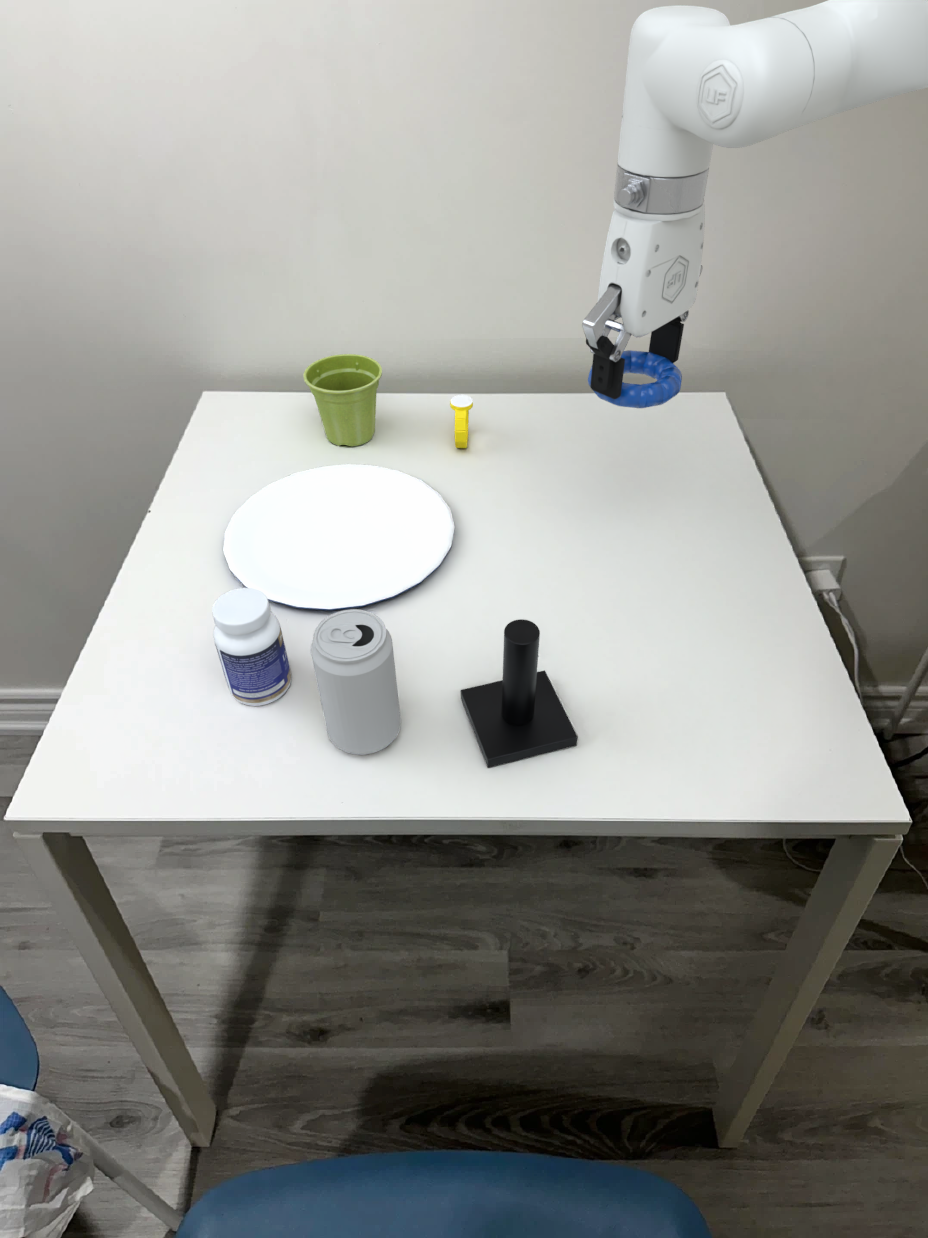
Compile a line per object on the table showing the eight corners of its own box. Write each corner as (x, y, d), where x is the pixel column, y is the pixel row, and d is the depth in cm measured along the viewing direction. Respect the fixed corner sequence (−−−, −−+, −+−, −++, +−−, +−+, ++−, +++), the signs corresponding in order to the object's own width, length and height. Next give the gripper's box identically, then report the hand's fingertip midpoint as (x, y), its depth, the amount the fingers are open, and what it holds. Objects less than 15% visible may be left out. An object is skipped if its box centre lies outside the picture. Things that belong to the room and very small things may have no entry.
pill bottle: (304, 685, 78) (288, 606, 71) (251, 718, 75) (228, 640, 68) (269, 652, 81) (250, 573, 74) (217, 683, 78) (191, 604, 71)
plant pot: (299, 432, 108) (288, 369, 102) (360, 407, 112) (354, 345, 106) (339, 464, 103) (330, 400, 97) (402, 437, 107) (397, 374, 101)
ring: (655, 361, 88) (658, 341, 87) (695, 403, 82) (699, 382, 81) (574, 374, 87) (575, 354, 85) (609, 418, 80) (611, 397, 79)
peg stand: (544, 678, 78) (551, 588, 70) (577, 745, 72) (589, 656, 65) (460, 698, 76) (458, 608, 69) (487, 768, 71) (488, 679, 63)
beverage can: (398, 760, 72) (388, 664, 63) (322, 759, 72) (302, 663, 63) (404, 702, 76) (394, 605, 68) (332, 701, 76) (314, 604, 68)
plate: (183, 594, 87) (180, 585, 86) (278, 459, 104) (276, 450, 103) (419, 634, 82) (418, 625, 81) (477, 486, 100) (477, 477, 99)
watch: (452, 429, 108) (451, 387, 104) (474, 429, 108) (474, 387, 104) (449, 455, 104) (448, 412, 100) (472, 456, 104) (471, 413, 100)
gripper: (636, 226, 65) (612, 423, 77) (753, 172, 74) (715, 356, 86) (559, 204, 69) (548, 395, 81) (679, 155, 78) (653, 334, 90)
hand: (634, 375), depth 83 cm, fingers closed on ring, 9 cm apart
